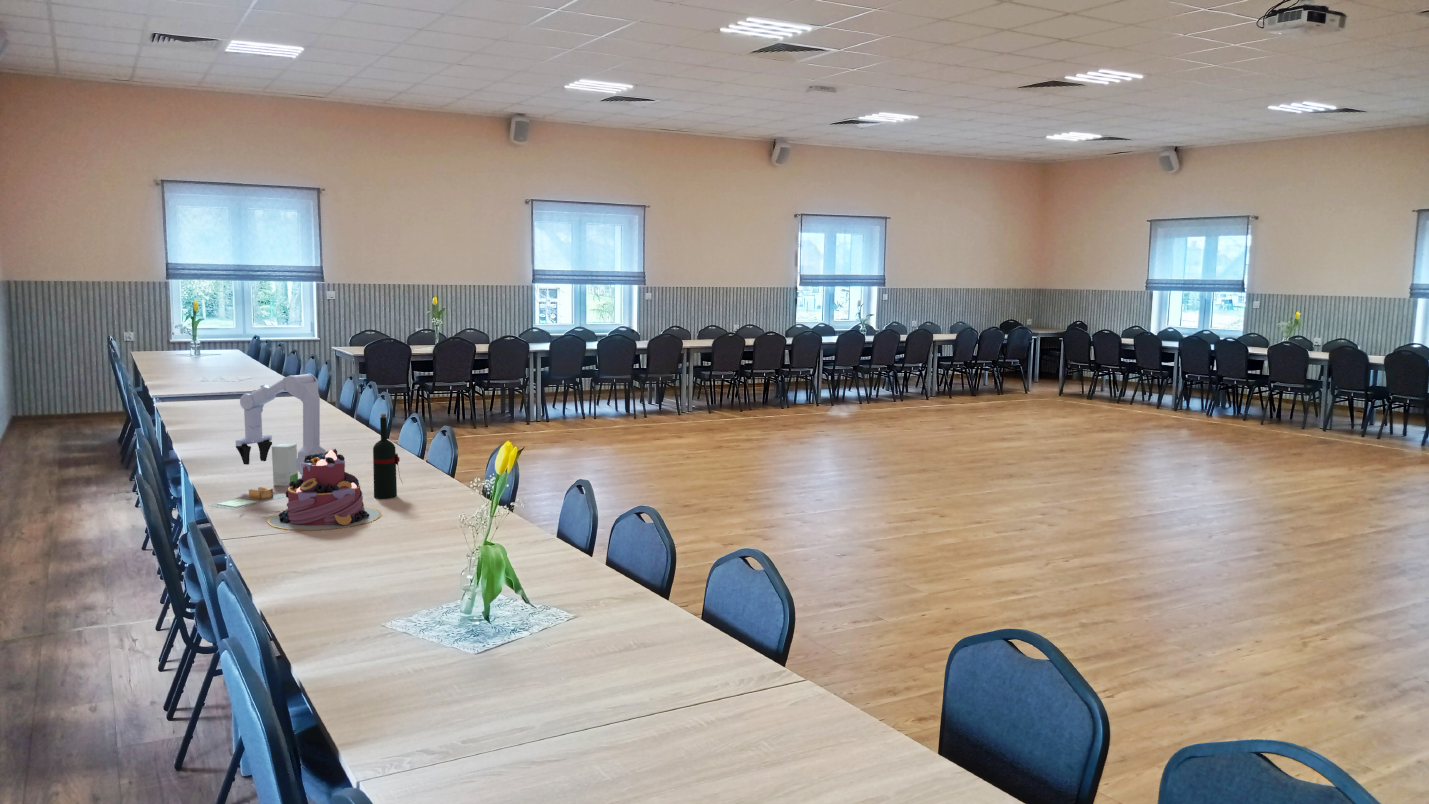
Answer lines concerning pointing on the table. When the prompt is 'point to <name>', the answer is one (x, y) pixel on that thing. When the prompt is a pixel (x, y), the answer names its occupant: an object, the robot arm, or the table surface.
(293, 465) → the skincare box
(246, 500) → the peg board
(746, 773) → the table surface
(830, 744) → the table surface
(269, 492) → the c link
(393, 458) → the wine bottle
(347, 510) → the wedding cake
